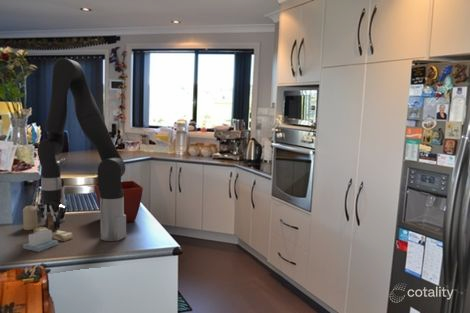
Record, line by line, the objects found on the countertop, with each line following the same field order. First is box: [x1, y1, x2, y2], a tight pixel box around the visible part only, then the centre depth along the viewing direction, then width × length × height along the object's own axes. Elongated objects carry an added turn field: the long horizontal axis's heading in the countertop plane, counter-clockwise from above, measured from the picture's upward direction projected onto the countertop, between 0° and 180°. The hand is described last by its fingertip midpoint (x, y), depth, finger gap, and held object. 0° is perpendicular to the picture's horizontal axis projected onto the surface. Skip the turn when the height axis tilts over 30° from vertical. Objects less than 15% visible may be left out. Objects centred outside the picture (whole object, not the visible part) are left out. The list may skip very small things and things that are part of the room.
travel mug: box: [55, 178, 66, 224], centre depth 183 cm, size 6×7×20 cm
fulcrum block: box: [22, 229, 59, 253], centre depth 151 cm, size 8×9×6 cm
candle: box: [22, 204, 39, 231], centre depth 173 cm, size 6×6×10 cm
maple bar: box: [32, 215, 74, 242], centre depth 163 cm, size 18×4×9 cm, turn 64°
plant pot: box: [93, 180, 144, 223], centre depth 189 cm, size 19×19×17 cm
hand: (52, 228), depth 163 cm, fingers closed on maple bar, 3 cm apart
